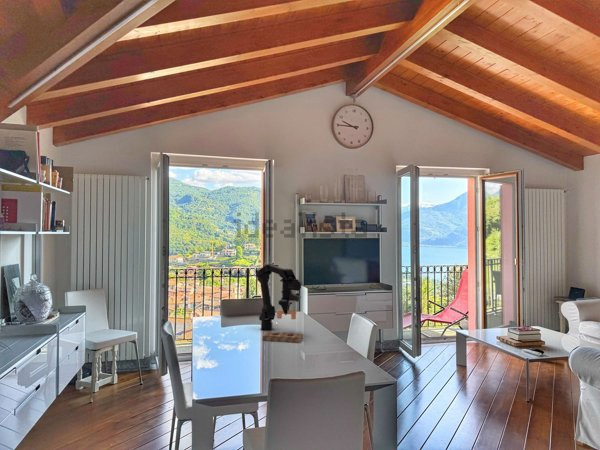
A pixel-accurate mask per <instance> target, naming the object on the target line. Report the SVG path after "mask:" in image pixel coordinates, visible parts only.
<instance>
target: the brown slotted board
mask: <svg viewBox="0 0 600 450" xmlns="http://www.w3.org/2000/svg"><path fill="white" fill-rule="evenodd" d="M303 339H304V333H297V332H296V333H295V332H277V331H276V332H275V331H266V332H265V333H264V334H263V335H262V341H263V342H264V341H265V342H276V343H277V342H278V343H279V342H280V343H294V344H295V343H296V344H300V343H301V342H302V341H303Z"/></svg>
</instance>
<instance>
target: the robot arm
mask: <svg viewBox="0 0 600 450" xmlns="http://www.w3.org/2000/svg"><path fill="white" fill-rule="evenodd" d="M272 273H274V274H277V275H278V276H279V277H280V278H281V279H280V280H279V282H282V284H281V285H282V288H281V292H280V293H281V295H282V296H281V299H280V300H278V305H279V306H280V307H281V310H283V311H284V314H283V315H284V316H287V315H288V314H287V311H288V310H290V307H291V305H292V304H293V303H294V302H297V303H298V302H300V299H301V297H302V296H301V294H300V293H299V291H300V290H301V288H302V284H301V282H300V280H299V279H297V277H296V275H295V273H294V271H293V269H292V268H283V267H279V266H277V265H274V264H272V263H270V264H269V263H267V264H265V265H264V266H263V267H261V268H260V269H258V270H257V272H256V279H257V281H258V282H259V284H260V289H261V296H262V304H263V306H262V308H261V313H260V315H259V317H258V320H259V321H260V322H261V323H260V324H261V325H260V326H261V327H260V331H267V332H271V330H273V322H272V321H274V320H275V316H276V307H275V306H274V305H273V304H272V302H271V295H270V289H269V288H270V287H269V280H270V275H271V274H272ZM293 291H294V292H295V291H296V292H297V291H298V292H297V293H293ZM291 301H292V302H291Z"/></svg>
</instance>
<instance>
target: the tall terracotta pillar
mask: <svg viewBox="0 0 600 450" xmlns="http://www.w3.org/2000/svg"><path fill="white" fill-rule="evenodd" d="M297 312H298V311H297V310H294V309H293V310H292V309H289V310H288V311H287V315H291V318H290V319H291V320H296V319H297ZM283 315H285V314H284V311H283V309H277V310H276V319H278V320H281V319H282V318H283Z"/></svg>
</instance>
